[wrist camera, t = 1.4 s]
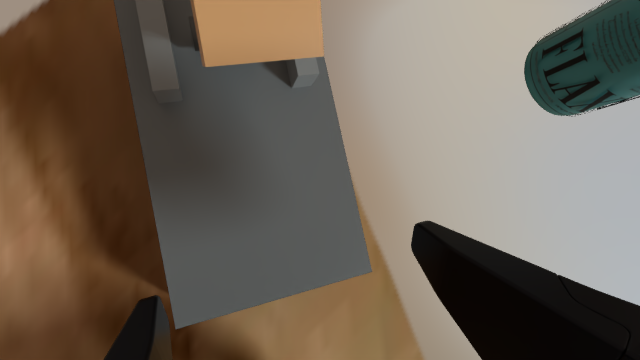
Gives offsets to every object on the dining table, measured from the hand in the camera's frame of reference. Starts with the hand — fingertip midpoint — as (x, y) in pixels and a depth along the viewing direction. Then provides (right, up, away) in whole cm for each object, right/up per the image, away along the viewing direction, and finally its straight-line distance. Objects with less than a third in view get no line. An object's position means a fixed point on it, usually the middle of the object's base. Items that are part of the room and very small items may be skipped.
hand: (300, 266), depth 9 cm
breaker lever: (-3, +9, +6) cm, 11 cm away
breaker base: (-4, +4, +12) cm, 13 cm away
